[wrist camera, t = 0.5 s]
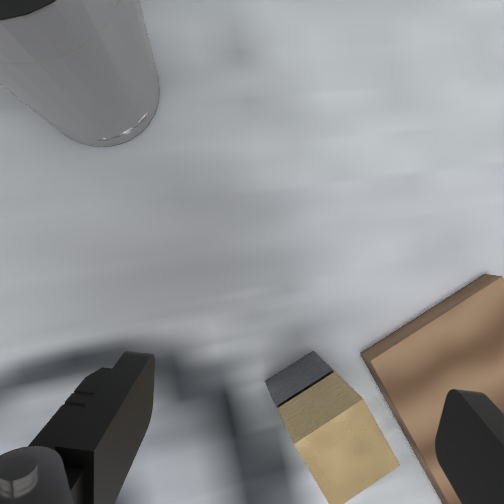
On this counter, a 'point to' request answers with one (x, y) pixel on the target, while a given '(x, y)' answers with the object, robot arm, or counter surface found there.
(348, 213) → the counter surface
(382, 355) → the stand
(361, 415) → the block
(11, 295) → the counter surface
